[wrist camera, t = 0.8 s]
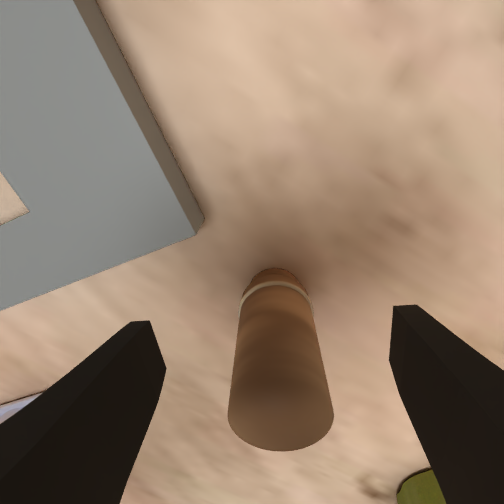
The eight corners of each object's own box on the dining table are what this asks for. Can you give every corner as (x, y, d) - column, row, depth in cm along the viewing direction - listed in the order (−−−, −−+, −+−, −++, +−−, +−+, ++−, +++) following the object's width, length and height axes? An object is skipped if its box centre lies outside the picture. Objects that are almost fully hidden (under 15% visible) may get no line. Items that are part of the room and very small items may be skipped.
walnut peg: (256, 325, 21) (250, 461, 13) (230, 274, 20) (206, 394, 12) (316, 306, 21) (349, 439, 12) (294, 251, 19) (316, 364, 11)
